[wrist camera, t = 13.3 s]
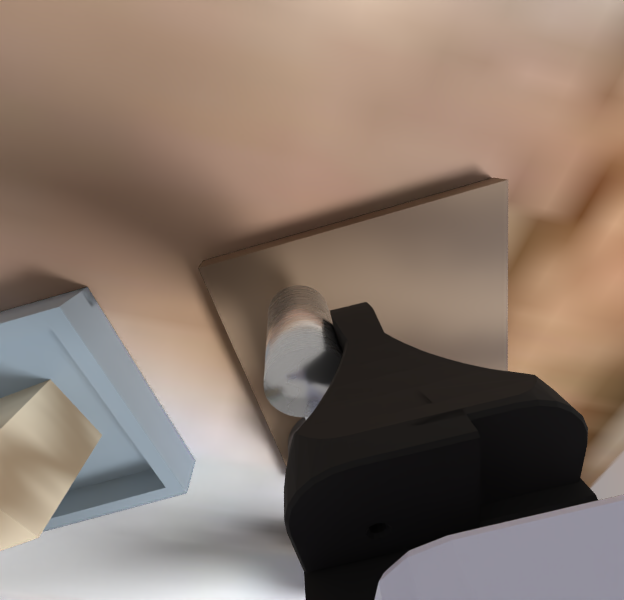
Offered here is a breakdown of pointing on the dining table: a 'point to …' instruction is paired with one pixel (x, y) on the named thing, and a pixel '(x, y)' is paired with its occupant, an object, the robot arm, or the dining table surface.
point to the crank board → (381, 281)
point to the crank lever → (299, 351)
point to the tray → (96, 404)
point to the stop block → (38, 458)
